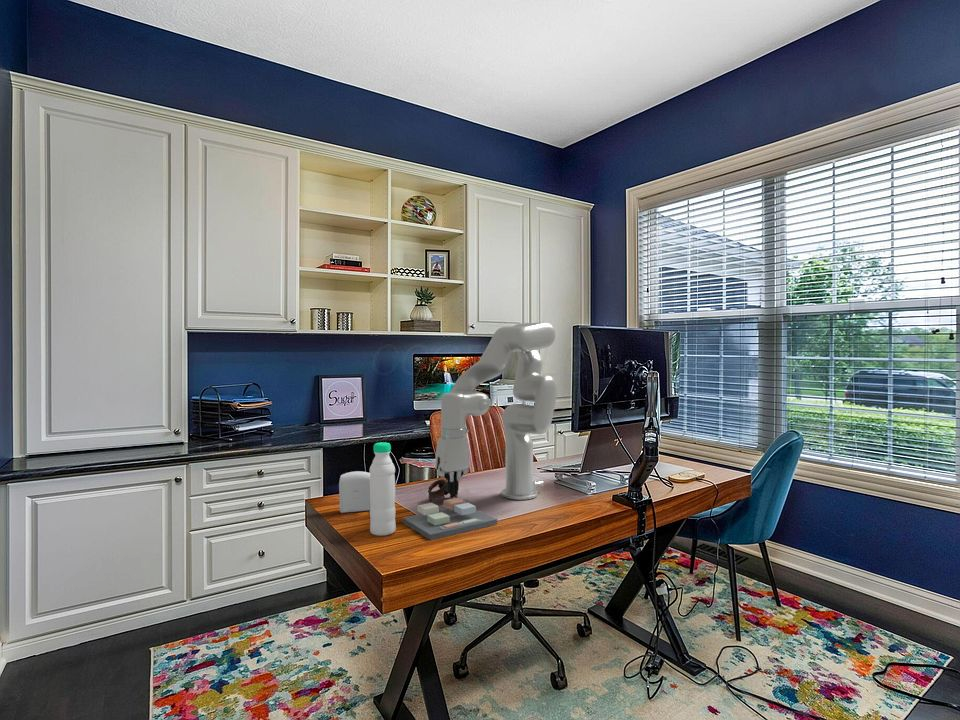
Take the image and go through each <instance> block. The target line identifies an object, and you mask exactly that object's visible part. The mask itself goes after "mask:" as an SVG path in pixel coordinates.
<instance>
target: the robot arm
mask: <svg viewBox="0 0 960 720" xmlns="http://www.w3.org/2000/svg"><path fill="white" fill-rule="evenodd" d="M555 339H556V329H555V328H554V326H553V325H552V324H551V323H549V322H523V323H516V324H514V325H513V326H511V325H510V326H502V327H500V328H498V329H496V331H495V332H494V334H493V335H492V337H491V339H490V341H489V343H488V344H487V346H486V348H485V350H484V351H483V353H482V355H481V357H480V358H479V360H478V361H477V362H475V363H474V364H473V365H472V366H470V367H469V368H468V369H467V370H466V371H464V372H462V374H461V375H460V376H459V377H458V378H457V380H456V381H455V383H454V384H453V386H452V388H451V389H450V391H449V392H446V393H443V394H442V396H441V403H440V404H441V407H440V409H441V412H440V417H441V418H440V421H441V422H440V426H441V427H440V437H439V438H438V440H437V443H436V449H435V450H436V451H435V460H434V461H435V462H434V467H435V470H437V472H436V476H438V477H442V478H443V479H445V480H447V490H448V495H450V494H451V495H455V494H456V495H457V494H458V495H459V489H460V488H459V481H461V479H462V477H463V475H465V474H468V473H469V472H470V471H469V468H470V465H471V464H470V463H471V457H470V456H471V455H470V451H471V450H470V444H469V440H468V437H467V434H468V433H470V429H469V428H467V422H466V421H467V416H477V417H480V416H482V415H485V414H486V413H487V412H488V411H489V409H490V406H491V402H490V401H491V400H490V398H489V396H488V395H487V394H486V393H483V392H481V391H474V390H475V389H476V388H477V387H478V386H480V385H481V384H483V383H484V382H487V381H489V380H493V379H494V378H497V377H499V376H500V375H502V373H503V372H504V371H505V368H506V366H508V363H509V362H510V359H511V357H512V355H513V354H514V353H517V358H518V362H517V363H518V364H517V367H516V373H515V376H514V381H513V386H512V387H513V389H512V394H513V397H514V398H515V399H517V400H519V401H523V402H531V403H534V405H532V404H525V403H524V404H523V403H522V404H521V403H513V404H509V405H508V406H506V408H505V409H503V413H502V425H503V431H504V438H505V439H504V440H505V488H504V489H501V491H500V494H501V496H502V498H505V499H510V500H517V501H520V500H523V501H524V500H525V501H526V500H531V499H534V498H536V497H538V494H539V493H538V490H536V489H537V488H540V487H544V486H545V485H544V483H545V482H544V481H543V480H539V481H536V480H534V443H533V439H532V437H531V434H532V435H538V436H539V435H540V436H541V435H544V434H546V433H547V432H548V431H549V430H550V428H551V425H552V421H553V417H554V412H555V408H556V407H555V406H556V401H557V398H558V397H557V396H558V386H557V382H556V381H555V379H554V378H553V377H552V376H551V375H548V374H542V369H543V358H542V355H541V353H540V352H539V350H542V349H546V348H549V347H550V346H551V345H553V344H554V342H555Z"/></svg>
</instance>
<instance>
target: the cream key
mask: <svg viewBox="0 0 960 720" xmlns="http://www.w3.org/2000/svg"><path fill="white" fill-rule="evenodd" d="M416 506H417V507H416V508H417V512H418V513H419V514H423V515H429V514H434V513H438V512H439V510H440V507H439V505H438V504H435V503H433V502H429V503H424V504H418V505H416Z"/></svg>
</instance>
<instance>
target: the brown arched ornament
mask: <svg viewBox="0 0 960 720" xmlns="http://www.w3.org/2000/svg"><path fill="white" fill-rule="evenodd" d="M437 486H438V487H437ZM436 487H437V488H439V489H437V490H435V491H432V490H433V489H435V488H436ZM427 493H428V500H429V502H432V500H436V499H439V498H445V497H446V496H448V495H449V496H450V497H449V498H450V499H453V498H459V496H458V495H459V493H458V494H457V495H456V494H455V495H451V494H449V493H448V490H447V480H446V479H445V478H440V479H436V480H435V481H434V482H432V483H431V484H430V485H429V486H428V490H427Z"/></svg>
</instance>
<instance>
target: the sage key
mask: <svg viewBox="0 0 960 720" xmlns="http://www.w3.org/2000/svg"><path fill="white" fill-rule="evenodd" d="M427 521H428V522H429V523H431V524H433V525H435V526H436V525H440V524H445V523H449V522H450V516H448V515H446V514H445V513H443V512H440V513H436V514H431V515H427Z"/></svg>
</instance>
